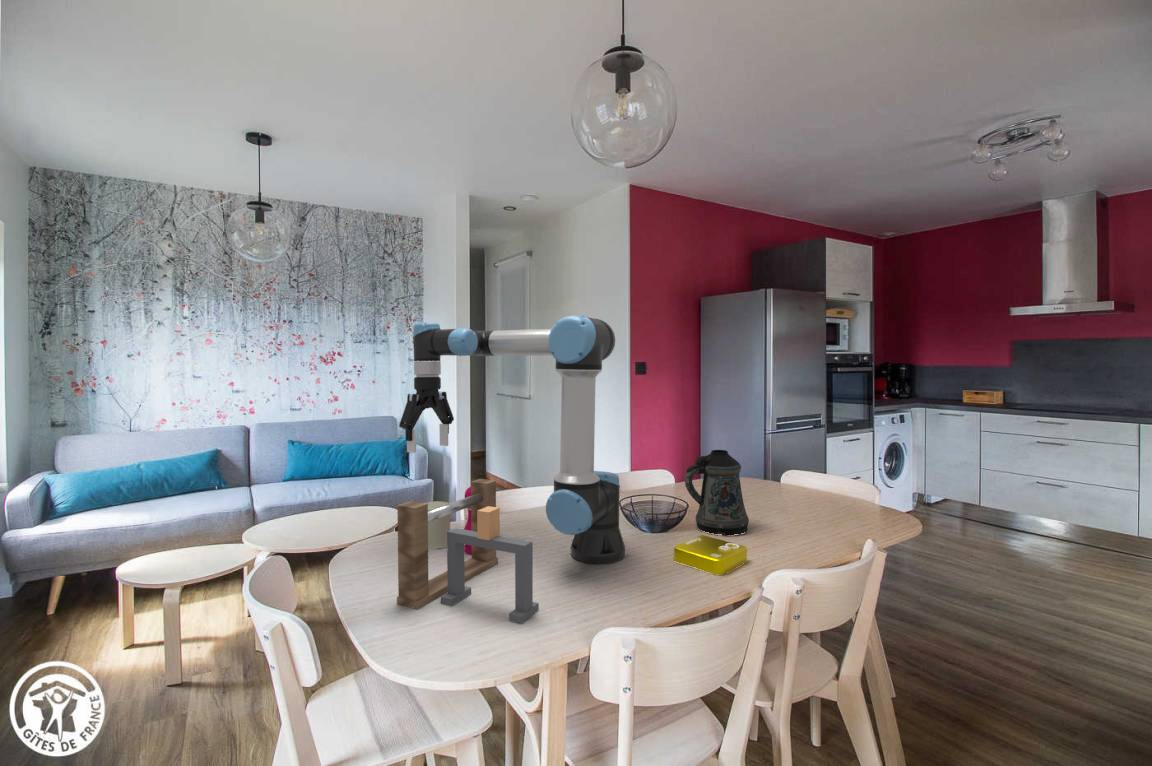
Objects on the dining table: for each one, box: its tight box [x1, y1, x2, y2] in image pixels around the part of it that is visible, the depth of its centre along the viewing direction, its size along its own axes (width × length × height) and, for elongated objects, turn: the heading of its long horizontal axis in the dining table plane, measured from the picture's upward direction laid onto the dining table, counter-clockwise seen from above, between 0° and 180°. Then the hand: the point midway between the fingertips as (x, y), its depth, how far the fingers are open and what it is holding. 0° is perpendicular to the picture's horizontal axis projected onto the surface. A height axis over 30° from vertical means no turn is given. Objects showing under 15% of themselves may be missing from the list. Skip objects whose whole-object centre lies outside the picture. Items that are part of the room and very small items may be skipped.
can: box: [425, 500, 451, 550], centre depth 159 cm, size 9×9×12 cm
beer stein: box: [684, 449, 750, 535], centre depth 173 cm, size 16×19×25 cm
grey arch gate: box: [440, 506, 540, 625], centre depth 118 cm, size 21×7×22 cm, turn 63°
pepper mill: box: [464, 486, 472, 555], centre depth 153 cm, size 7×7×20 cm
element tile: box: [673, 534, 748, 576], centre depth 146 cm, size 15×15×5 cm
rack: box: [396, 478, 499, 610], centre depth 132 cm, size 6×30×22 cm, turn 153°
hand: (428, 448), depth 159 cm, fingers open, 13 cm apart
